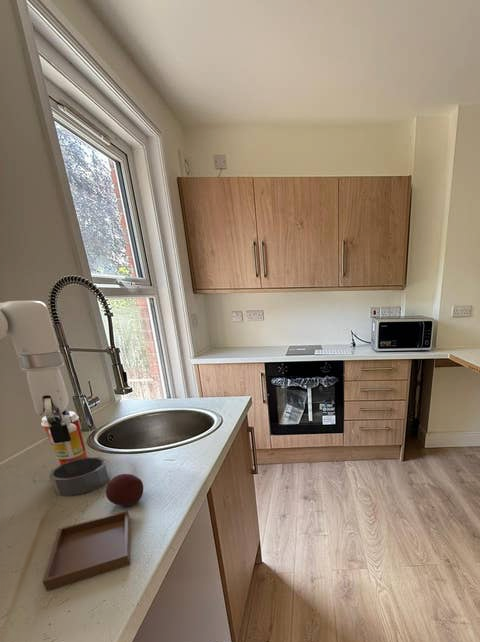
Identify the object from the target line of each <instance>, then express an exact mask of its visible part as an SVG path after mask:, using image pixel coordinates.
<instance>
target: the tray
mask: <svg viewBox="0 0 480 642" xmlns="http://www.w3.org/2000/svg"><path fill="white" fill-rule="evenodd" d="M130 565H131V516H130V512H129V510H125V511H122V512H117V513H114V514H109V515H105V516H102V517H98V518H94V519H90V520H86V521H83V522H78V523H75V524H74V523H73V524H71V525H67V526H64V527H63V526H62V527H60V528H58V529H57V533H56V537H55V540H54V543H53V546H52V549H51V553H50V556H49V559H48V562H47V565H46V566H47V567H46V569H45V572H44V575H43V579H42V585H43V587H44V589H45V591H46V592H47V591H51V590H54V589H56V588H57V589H58V588H60V587H64V586H66V585H69V584H73V583H76V582H79V581H82V580H86V579H88V578H92V577H95V576H98V575H101V574H104V573H107V572H110V571H111V572H112V571H114V570H117V569H120V568H123V567H126V566H127V567H128V566H130Z"/></svg>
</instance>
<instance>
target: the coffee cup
mask: <svg viewBox="0 0 480 642" xmlns="http://www.w3.org/2000/svg"><path fill="white" fill-rule="evenodd" d="M68 411H69V414H70V416H71V420H72V423H73V424H74V425H75V426H76V428H77V431H78V434H79V438H80V441H81V445H82V448H83V453H82V454H81V455H79V456H77V457H74V458H71V459H58V458H57V459H58V462H59V465H61V464H64V463H67V462H70V461H72V460H76V459H81V458H86V457H88V455H87V451H86V446H85V442H84V438H83V433H82V430H81V425H80V421H79V419H80V417H79V415H78V414H77V413H76V412H75V411H71V410H68ZM40 425H41V426H42V427H43V428H44V431H45V433H46V435H47V437H48V439H49V443H50V445H51V446H52V449H53V451H54V452H55V450H54V447H53V444H52V441H51V438H50V435H49V425H48V421H47V418H46V415H44V416H43V417H42V418H41V423H40Z"/></svg>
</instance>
